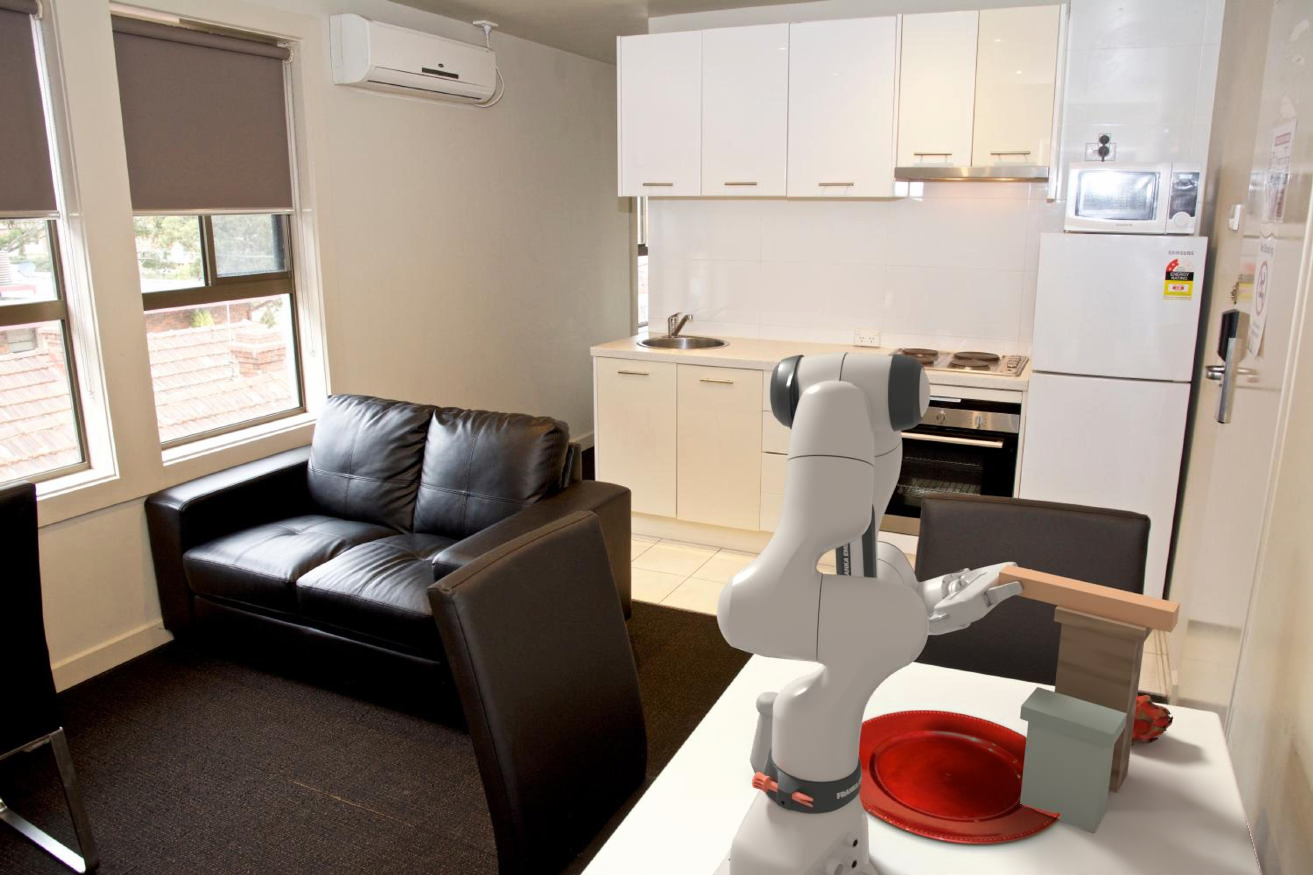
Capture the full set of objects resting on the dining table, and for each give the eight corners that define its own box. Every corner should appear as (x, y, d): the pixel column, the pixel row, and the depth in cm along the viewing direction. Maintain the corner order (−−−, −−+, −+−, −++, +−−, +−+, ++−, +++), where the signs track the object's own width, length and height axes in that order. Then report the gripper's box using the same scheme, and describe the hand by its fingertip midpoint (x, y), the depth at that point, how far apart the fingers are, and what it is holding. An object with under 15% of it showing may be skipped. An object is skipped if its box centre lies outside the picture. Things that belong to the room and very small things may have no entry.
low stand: (1100, 837, 129) (1113, 734, 125) (1011, 803, 136) (1021, 705, 133) (1114, 812, 134) (1126, 713, 131) (1027, 781, 142) (1037, 686, 138)
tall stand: (1123, 796, 138) (1144, 630, 132) (1038, 766, 145) (1055, 608, 139) (1135, 774, 143) (1156, 614, 137) (1052, 747, 151) (1069, 593, 145)
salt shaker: (787, 764, 146) (790, 687, 143) (789, 786, 140) (792, 706, 137) (749, 762, 146) (751, 685, 143) (749, 784, 141) (751, 704, 138)
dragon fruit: (1086, 740, 155) (1160, 754, 155) (1110, 736, 148) (1188, 750, 147) (1086, 688, 159) (1159, 700, 158) (1109, 680, 151) (1186, 694, 150)
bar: (1171, 632, 131) (1173, 612, 131) (997, 590, 146) (999, 571, 145) (1177, 623, 134) (1179, 603, 134) (1006, 582, 149) (1008, 564, 148)
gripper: (913, 605, 146) (994, 581, 137) (964, 567, 162) (1040, 543, 153) (930, 643, 145) (1013, 622, 136) (979, 601, 161) (1057, 580, 152)
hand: (1027, 580), depth 145 cm, fingers closed on bar, 4 cm apart
